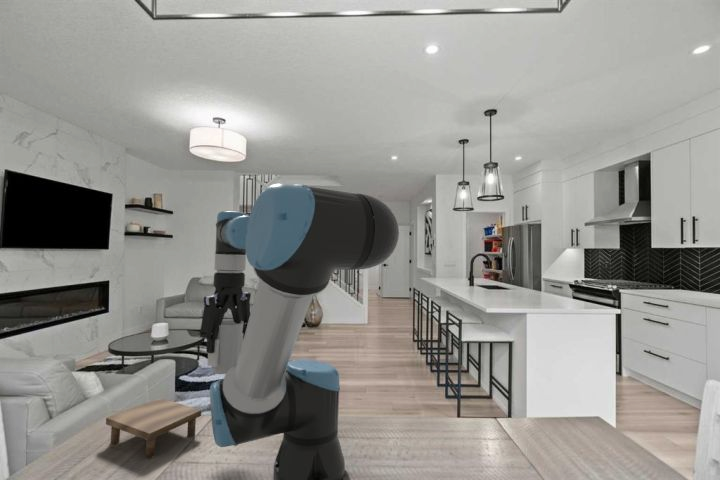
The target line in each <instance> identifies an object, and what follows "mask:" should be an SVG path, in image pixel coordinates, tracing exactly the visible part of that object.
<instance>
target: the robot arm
mask: <svg viewBox="0 0 720 480" xmlns="http://www.w3.org/2000/svg"><path fill="white" fill-rule="evenodd" d="M215 227H216V230H215V231H216V232H215V233H216V234H215V251H214V270H215V271H216V272H214V273H213V287H214V289H215V290H214V292H213V295H212V294H211V295H209V296H208V295H205V296H204V297H203V306H204V307H203V313H202V319H201V325H200V330H199V337H200V338H202V339H205V340H206V348H205V349H206V353H207V366H208V367H209V366H211V367H212V366H213V367H217V366H218V355H219V339H216V338H217V335H218V332H219V325H221V323H222V320H224V317H225V314H226V313H227V312H228V310H230V312H231V316H232V320H234V322H235V323H237V324H239V323H241V321H243V322H244V323H243V331H242V336H241V344H240V353H239V357H238V361H237V363H236V364H235V365H233V366H232V367H231V368H230V369H229V370H228V371H227V373H226V374H224V377H223V380H222V379H218V380H217V381H213V382H212V383H211V384H210V386H209V399H210V400H209V403H210V416H211V417H210V418H211V425H212V434H213V438H214V442H215V444H216V446H217V447H219V448H226V447H233V446H234V447H237V446H238V445H242V444H245V443H246V444H247V443H248V442H249V443H250V442H253V441H256V440H261V439H265V438H268V437H272V436H277V435H280V434H283V436H282V440H281V443H280V446H279V449H278V450H277V451H278V452H277V455H276V457H275V459H274V463H273V474H272V475H273V480H341V479H342V478H343V476H344V477H345V473H344V472H346V471H345V469H346V467H345V466H346V462H345V457H344V453H343V451H342V446H341V443H340V440H339V439H340V438H339V436H338V435H339V434H338V433H339V431H338V429H339V404H340V390H341V386H340V373H339V371H338V369H337V368H336V367H335V366H334V365H332V364H330V363H326V362H323V361H319V360H314V359H293V360H290V359H291V356H292V353H293V351H294V348H295V345H296V343H297V339H298V337H299V334H300V332H301V330H302V327H303V324H304V321H305V318H306V315H307V313H308V311H309V307H310V305H311V302H312V300H313V297H314V296H315V295H319V294H320V293H322V292H323V291H325V289H326V288H327V286H328V284H329V282H330V280H331V277H332V275H333V272H335V271H338V270H339V271H343V270H347V271H348V270H351V271H352V270H355V271H358V270H366V269H370V268H374V267H376V266H379V265H381V264H382V263H384V262H385V261H386V260H387V259H389V257H391V255H392V254H393V253H394V251H395V249H396V247H397V245H398V241H399V235H400V232H399V223H398V220H397V218H396V216H395V214H394V213H393V211H392V209H391V208H390V207H389V206H388V205H387V204H386V203H384V202H383V201H381V200H380V199H378V198H376V197H374V196H371V195H368V194H364V193H355V192H353V193H352V192H346V191H340V190H333V189H326V188H320V187H313V186H308V185H305V184H303V183H302V184H301V183H300V184H298V183H296V184H285V183H276V184H275V183H274V184H272V185H269V186H268V187H267V188H265V189H263V190H262V191H261V192H260V194H259V195H258V196H257V198H256V200H255V201H254V203H253V205H252V208H251V211H250V213H249V215H247V214H246V213H245V212H242V211H233V210H231V211H230V210H229V211H228V210H225V211H219V212H218V213H217V217H216V223H215ZM246 260H247V261H246ZM247 262H248V263H249V265H250V266H251V267H252V268H253V271H254V274H255V275H256V277H257V278H258V280H259V281H258V285H257V288H256V291H255V295H254V299H253V303H252V307H251V303H250V301H251V294H252V293H251V292H245V291H243V287H244V286H245V279H246V274H245V270H246V264H247ZM212 333H213V334H212ZM343 479H344V478H343Z"/></svg>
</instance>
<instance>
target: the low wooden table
mask: <svg viewBox="0 0 720 480" xmlns="http://www.w3.org/2000/svg"><path fill="white" fill-rule="evenodd" d="M201 416H202V409H200V408H196V407H192V406H189V405H185V404H182V403H179V402H175V401H172V400H168V399H166V398H162V397H159V398H157V399H154V400H151V401H148V402H146V403H143V404H140V405H137V406H134V407H131V408H129V409H127V410H124V411H121V412H118V413H115V414H113V415H111V416H108V417H106V418H105V425H106V426H109V427H111V428H110V431H111V432H110V444H111V445H115V444H118V443H120V439H121V431H123V432H126V433H128V434H132V435H134V436H136V437H139V438H141V439H144V440H145V456H144V457H145V459H152V458H154V457H155V455H156V453H155V451H156V438H157V437H159V436H161V435H163V434H166V433H168V432H170V431H172V430H175V429H176V428H179V427H180V426H183V425H185V424H187V431H186V432H187V433H186V435H187V437H189V438H191V437H194V436H195V435H196V420H197V418H199V417H201Z"/></svg>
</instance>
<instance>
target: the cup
mask: <svg viewBox="0 0 720 480" xmlns="http://www.w3.org/2000/svg"><path fill="white" fill-rule="evenodd" d="M243 323H244V322H243V321H241V323H239V324H237V323H235V322H234V320H233V319H223V320H222V323H221V325H219V332H218V335H217V338H216V339H219V355H218V366H217V367H213V366H211V372H212V373H213V374H215V375H226V373H227V371H228V370H229V369H230V368H231V367H232V366H233V365H235V364H236V363H237V361H238V357H239V353H240V344H241V336H242V331H243ZM212 334H213V333H212Z"/></svg>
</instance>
